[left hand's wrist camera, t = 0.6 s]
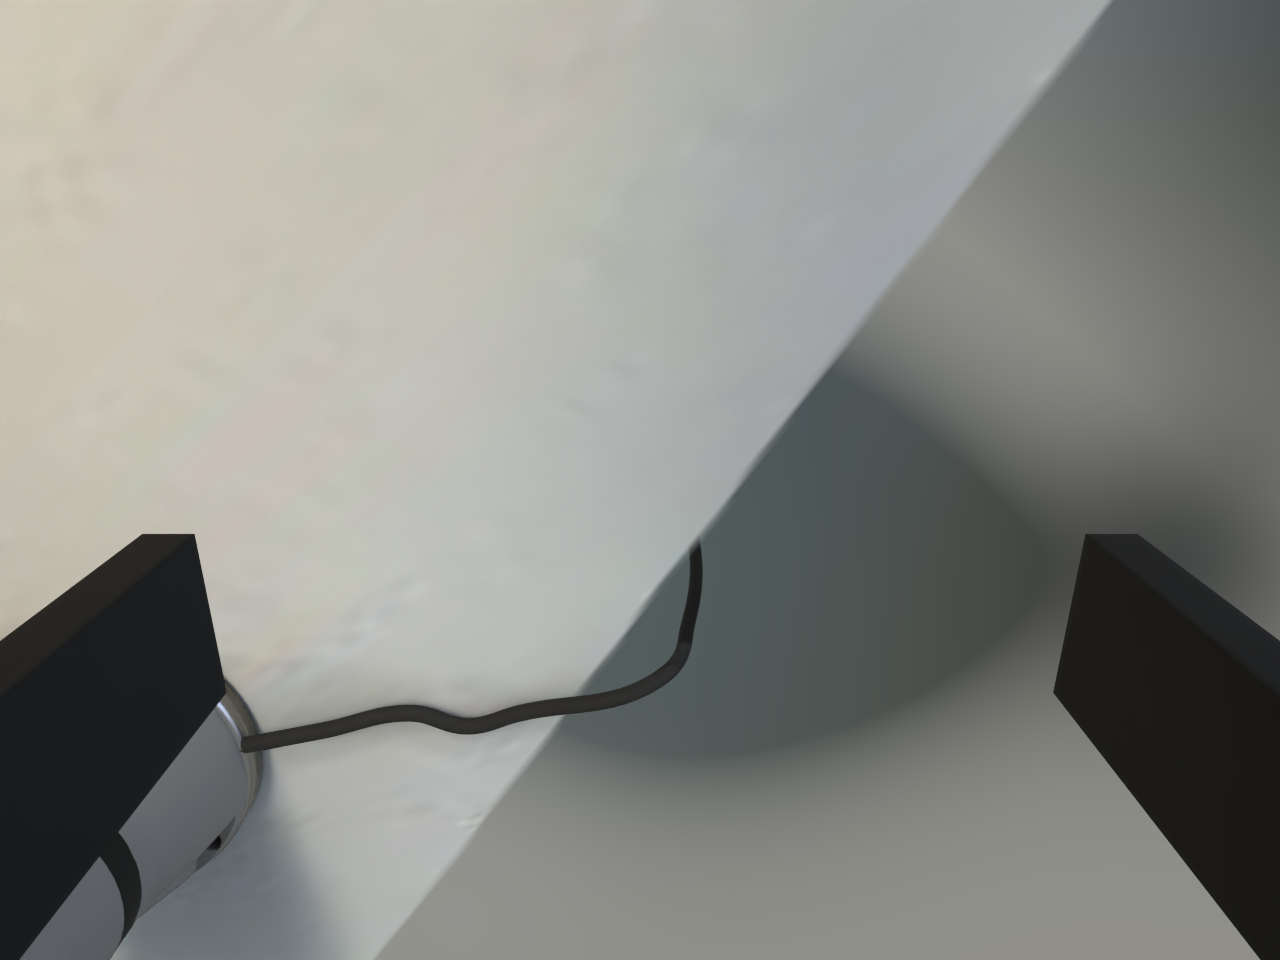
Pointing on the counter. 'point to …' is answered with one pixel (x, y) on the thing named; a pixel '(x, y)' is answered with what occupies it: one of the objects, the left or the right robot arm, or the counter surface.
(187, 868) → the right robot arm
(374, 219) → the counter surface
